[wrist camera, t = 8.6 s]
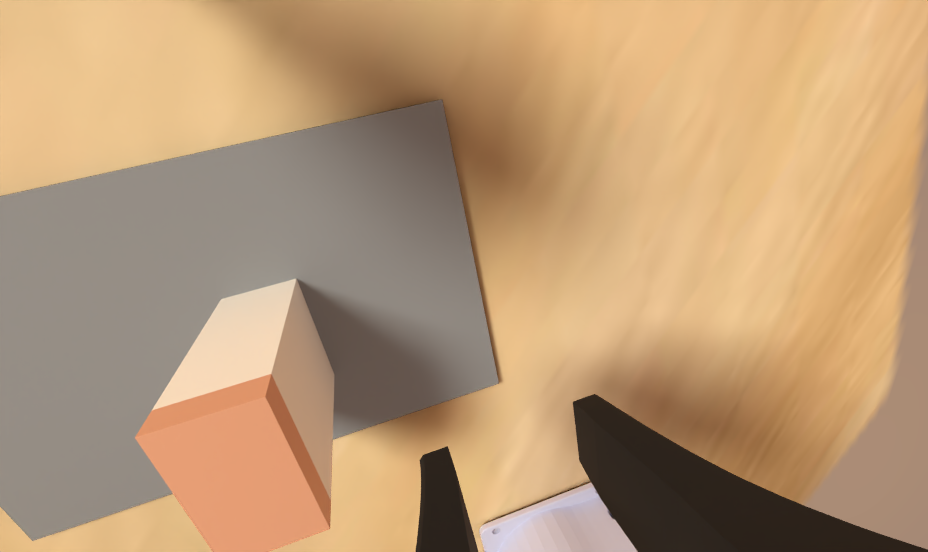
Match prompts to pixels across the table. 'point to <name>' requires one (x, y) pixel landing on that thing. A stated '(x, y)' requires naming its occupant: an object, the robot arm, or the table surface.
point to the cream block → (249, 424)
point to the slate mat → (227, 295)
